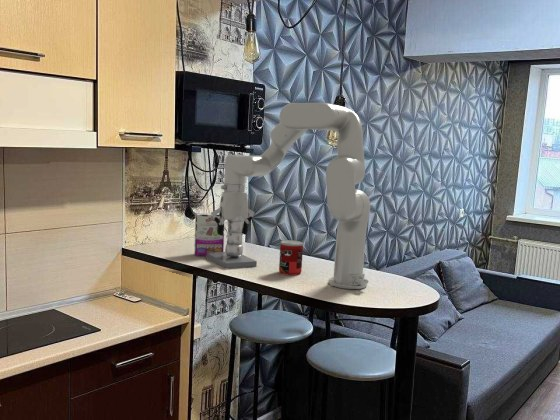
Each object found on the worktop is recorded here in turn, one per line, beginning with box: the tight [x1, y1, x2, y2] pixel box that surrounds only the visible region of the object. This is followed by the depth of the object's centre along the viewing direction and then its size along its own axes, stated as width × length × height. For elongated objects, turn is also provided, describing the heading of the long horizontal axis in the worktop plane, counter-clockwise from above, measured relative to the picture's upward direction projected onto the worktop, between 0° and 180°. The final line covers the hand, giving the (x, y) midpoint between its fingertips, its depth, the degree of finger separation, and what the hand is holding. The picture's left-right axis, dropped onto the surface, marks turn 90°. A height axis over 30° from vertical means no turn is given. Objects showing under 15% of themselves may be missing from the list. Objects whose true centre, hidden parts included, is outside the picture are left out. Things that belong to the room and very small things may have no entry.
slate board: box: [206, 251, 258, 270], centre depth 203 cm, size 18×12×2 cm, turn 31°
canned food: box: [278, 239, 304, 276], centre depth 192 cm, size 8×8×11 cm
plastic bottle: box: [224, 216, 245, 257], centre depth 202 cm, size 6×7×20 cm
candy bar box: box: [194, 212, 225, 257], centre depth 213 cm, size 11×5×16 cm, turn 104°
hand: (232, 234), depth 202 cm, fingers open, 9 cm apart
